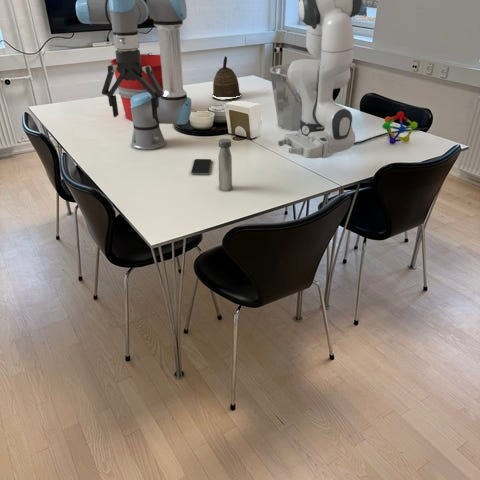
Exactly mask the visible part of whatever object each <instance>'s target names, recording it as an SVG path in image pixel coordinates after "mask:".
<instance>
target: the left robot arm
mask: <svg viewBox="0 0 480 480" xmlns="http://www.w3.org/2000/svg"><path fill="white" fill-rule="evenodd" d="M187 11H188V9H187V3H186V0H76V2H75V13H76V17H77V19H78V21H79V22H80V23H82V24H89V25H111V28H112V37H113V43H114V48H115V52H114V53H115V59H116V60H117V66H114V65H113V64H111V63H110V65H107V74H106V78H105V81H104V84H103V86H102V90H101V94H102V95H104V96H107V98H108V105H109V107H111V108H112V114H113V118H117V117H118V116H119V115H120V114H119V108H118V107H119V106H118V101H117V95H116V94H115V93H116V91H117V90H118V87H119V85H120V84H121V82H122V81H123V80H125V81H128V80H132V81H135V80H137V81H138V82H140V83H141V84H142V85H143V87H144V88H145V89H146V90H147V91H148V92H145V93H140V94H136V95H134V96H133V97H132V98H131V111H132V118H133V121H132V125H133V132H132V135H131V147H132V148H134V149H135V150H141V151H151V150H153V151H154V150H157V149H161V148H163V147H164V146H165V144H166V140H165V137H164V135H163V132H162V130H161V127H160V124H161V125H164V124H165V125H177V126H179V125H186V124H188V122H189V120H190V118H191V113H192V99H191V97H189V96H188V93H187V91H185V89H184V84H183V67H182V51H181V50H182V49H181V34H180V33H181V31H180V29H181V28H182V26H183V25H184V23H183V21H184V20H186V19H187V15H188V13H187ZM146 20H153V26H154V27H155V28H156V29H157V32H158V44H159V55H160V57H161V69H162V81H163V90H162V89H161V87H160V85H159V83H158V82H157V80H156V78H155V76H154V74H153V73H152V68H151V66H150V65H149V66H146V67H142V65H141V57H140V54H141V50H140V49H139V48H140V42H139V41H140V39H139V31H138V25H141V24H143V23H144V22H146ZM116 70H117V71H118V73H119V74H120V75H119V77H118V78H117V80H116V79H115V82H114V84H112V81H113V77H114V76H115V73H114V72H115V71H116ZM142 71H144V72H145V73H146V74H147V76H148V78H149V80H150V82H151V83H152V85H153V87H154V89H155V90H154V89H153V88H152V86H151V85H150V84H149V83H148V82H147V81H146V79H145V78H144V76H143V75H142V74H141V73H142ZM111 84H112V85H111ZM110 86H111V88H110Z"/></svg>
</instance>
